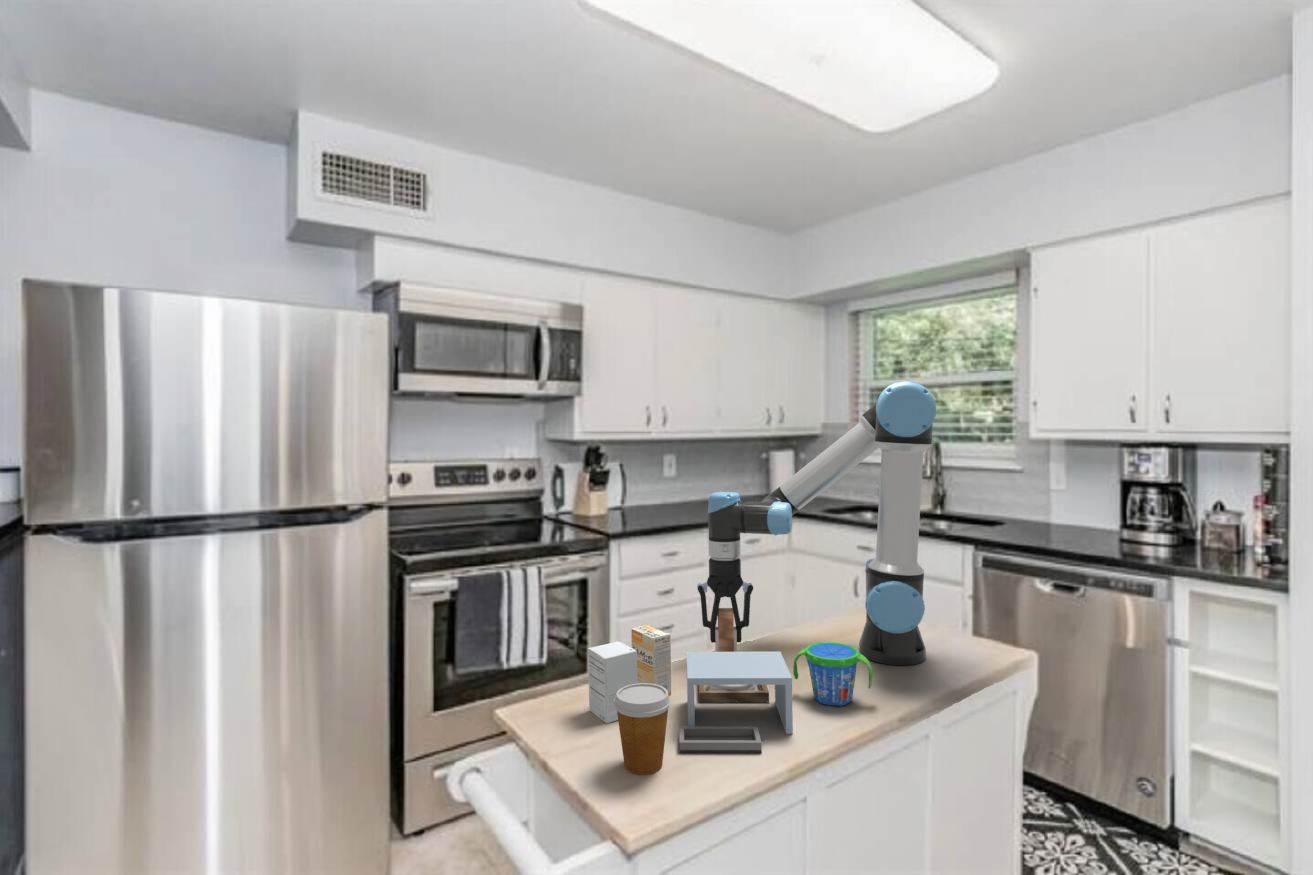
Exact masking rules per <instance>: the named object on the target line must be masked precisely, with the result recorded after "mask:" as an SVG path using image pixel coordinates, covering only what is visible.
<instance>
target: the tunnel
mask: <svg viewBox="0 0 1313 875" xmlns="http://www.w3.org/2000/svg"><path fill="white" fill-rule="evenodd" d="M698 685H704V686H705V685H706V686H708V685H755V686H759V685H767V686H770V685H771V686H773V685H774V702H775V705H776V708H777V711H778V714H779V716H780V717H779V718H780V719H781V723H782V726H783V729H784V732H785V734H786V735H793V734H794V729H793V728H794V726H793V725H794V723H793V721H794V720H793V717H794V716H793V713H794V712H793V677H792V674H791V673H790V670H789V668H788V666H787V663H786V661H785V659H784V657H783V654H782V652H781V651H737V652H715V651H686V689H687V690H686V691H687V694H686V696H687V698H686V699H687V700H686V701H687V702H686V703H687V727H696V724H695V722H696V721H695V720H696V719H695V713H696V712H695V686H698Z"/></svg>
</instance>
